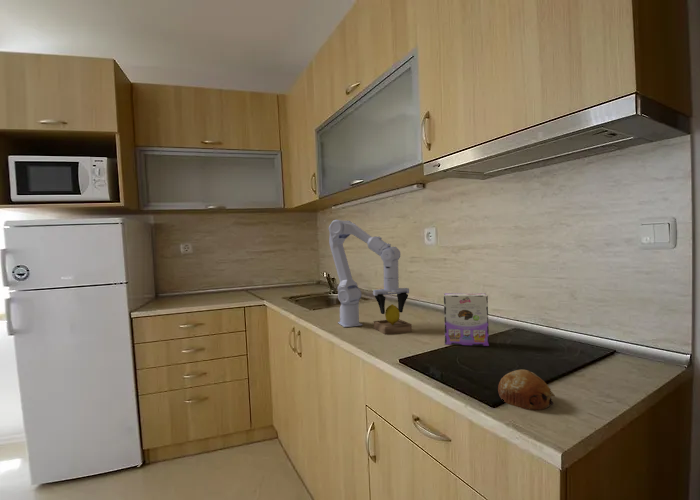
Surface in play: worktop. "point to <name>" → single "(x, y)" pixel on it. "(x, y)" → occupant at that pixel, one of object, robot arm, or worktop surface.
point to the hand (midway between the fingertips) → (391, 312)
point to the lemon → (392, 314)
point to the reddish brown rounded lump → (525, 390)
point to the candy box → (466, 319)
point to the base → (392, 327)
